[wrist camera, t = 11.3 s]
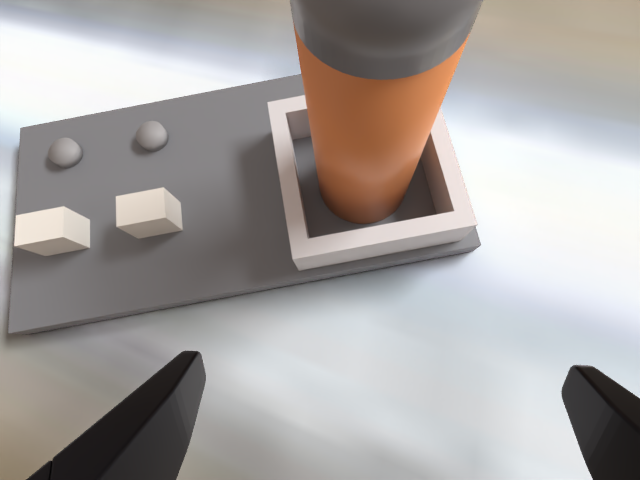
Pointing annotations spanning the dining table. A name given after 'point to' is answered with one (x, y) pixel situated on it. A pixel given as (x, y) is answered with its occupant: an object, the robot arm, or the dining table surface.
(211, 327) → the dining table surface
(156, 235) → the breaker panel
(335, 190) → the capped spray can
